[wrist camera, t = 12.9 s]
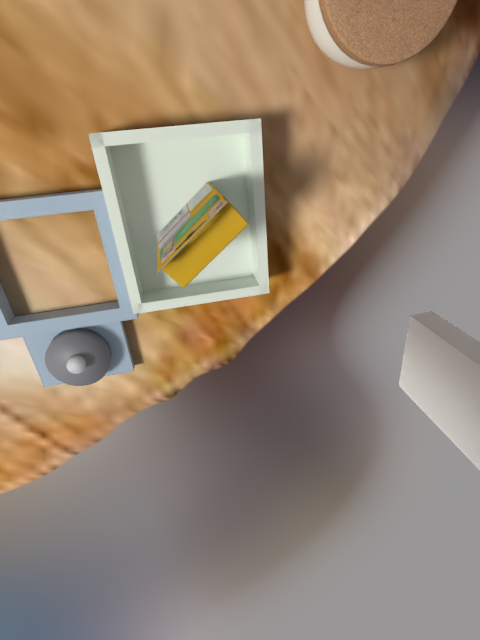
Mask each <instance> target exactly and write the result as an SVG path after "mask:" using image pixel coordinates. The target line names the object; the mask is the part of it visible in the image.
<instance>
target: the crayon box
mask: <svg viewBox="0 0 480 640" xmlns="http://www.w3.org/2000/svg"><path fill="white" fill-rule="evenodd" d="M247 225H248V222H247V221H246V220H245V219H244V218H243V216H242V215H241V214H240V213H239V212H238V211H237V210H236V209H235V207H234V206H233V205H232V204H231V203H230V202H229V201H228V200H227V199H226V198H225V197H224V196H223V195H222V194H221V193H220V192H219V191H218V190H217V189H216V188H215V187H214V186H213V185H212V184H211V183H209V182H207V183H206V184H205V185H204V186H203V187H202V188H201V189H200V190H199V191H198V192H197V193H196V194H195V195H194V196H193V197H192V199H191V200H190V201H189V202H188V203H187V204H186V205H185V206H184V207H183V208H182V209H181V210H180V211H179V212H178V213H177V214H176V215H175V216H174V217H173V218H172V219H171V220H170V221H169V222H168V223H167V224H166V225H165V226H164V227H163V229H162V230H161V231H160V232H159V233H158V234H157V261H158V262H157V263H158V265H157V274H158V273H159V272H160V271H161V270H163V271H164V272H165V273H166V274H167V275H169V276H170V277H171V278H172V279H173V280H174V281H176V282H177V283H178V284H179V285H180V286H181V287H182V288H184V287H186V286H187V285H188V284H189V283H190V282H191V281H192V280H193V279H194V278H195V277H196V276H197V275H198V274H199V273H200V272H201V271H202V270H203V269H204V268H205V267H206V266H207V265H208V264H209V263H210V262H211V261H212V260H213V259H214V258H215V257H216V256H217V255H219V253H220V252H221V251H222V250H224V249H225V248H226V247H227V246H228V245H229V244H230V243H231V242H232V241H233V240H234V239H235V238H236V237H237V235H238V234H239V233H241V231H242V230H244V228H245V227H246V226H247Z"/></svg>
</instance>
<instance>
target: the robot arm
mask: <svg viewBox="0 0 480 640" xmlns="http://www.w3.org/2000/svg"><path fill="white" fill-rule="evenodd" d="M399 386H400V387H401V388H402V389H403V391H404V392H405V393H406V394H407V395H408V396H409V397H410V398H411V399H412V400H413V401H414V402H415V403H416V404H417V405H418V406H419V407H420V408H421V409H422V410H423V411H424V412H425V414H426V415H427V416H428V417H429V418H430V419H431V420H432V421H433V422H434V423H435V424H436V425H437V426H438V427H439V428H440V429H441V430H442V431H443V432H444V433H445V434H446V435H447V436H448V438H449V439H450V440H451V441H453V443H454V444H455V445H456V446H457V447H458V448H459V449H460V450H461V451H462V452H463V453H464V454H465V455H466V456H467V457H468V458H469V460H470V461H472V462H473V464H474V465H475V466H476V467H477V468H478V469H479V470H480V342H479V341H477V340H476V339H474V338H472V337H471V336H469V335H468V334H466V333H465V332H463V331H461V330H460V329H459V328H457V327H455V326H454V325H452V324H451V323H449V322H448V321H446V320H444V319H443V318H441V317H440V316H438V315H437V314H435V313H434V312H426V313H421V314H416V315H410V318H409V325H408V330H407V337H406V343H405V349H404V356H403V362H402V369H401V375H400V382H399Z"/></svg>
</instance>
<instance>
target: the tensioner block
mask: <svg viewBox="0 0 480 640" xmlns="http://www.w3.org/2000/svg"><path fill="white" fill-rule="evenodd" d="M86 210H94V212H95V216H96V220H97V223H98V227H99V231H100V235H101V238H102V242H103V246H104V250H105V253H106V257H107V261H108V265H109V268H110V272H111V276H112V280H113V283H114V287H115V291H116V295H117V298H118V301H115V302H109V303H102V304H95V305H89V306H82V307H75V308H69V309H62V310H55V311H48V312H42V313H35V314H28V315H22V316H14V313H13V311H12V309H11V306H10V304H9V301H8V299H7V297H6V294H5V292H4V290H3V287H2V285H1V283H0V340H5V339H11V338H17V337H23V339H24V341H25V343H26V346H27V348H28V350H29V353H30V355H31V357H32V360H33V362H34V364H35V367H36V369H37V372H38V374H39V376H40V379H41V381H42V383H43V386H44V387H46V386H52V385H57V384H63V383H66V384H69V385H75V386H84V385H89V384H92V383H95V382H97V381H99V380H100V379H101V378H102V377H103V376H109V375H114V374H120V373H126V372H131V371H134V366H135V365H134V361H133V358H132V354H131V350H130V347H129V343H128V339H127V335H126V332H125V328H124V324H123V321H126V320H132V319H138V314H139V313H138V314H133V311H132V307H131V303H130V299H129V295H128V291H127V287H126V283H125V279H124V275H123V271H122V267H121V263H120V259H119V255H118V251H117V247H116V243H115V239H114V235H113V231H112V227H111V223H110V219H109V215H108V211H107V207H106V203H105V198H104V194H103V190H102V189H93V190H84V191H75V192H65V193H56V194H47V195H38V196H29V197H19V198H10V199H1V200H0V220H9V219H17V218H26V217H34V216H43V215H52V214H60V213H69V212H78V211H86Z"/></svg>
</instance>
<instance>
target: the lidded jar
mask: <svg viewBox="0 0 480 640" xmlns="http://www.w3.org/2000/svg"><path fill="white" fill-rule="evenodd" d="M456 2H457V0H304V8H305V15H306V21H307V24H308V27H309V31H310V33H311V35H312V37H313V40H314V41H315V43H316V44H317V46H318V48H319V49H320V50H321V51H322V52H323V53H324V54H325V55H326V56H327V57H328V58H329V59H330V60H332V61H333V62H335V63H337V64H339V65H341V66H345V67H349V68H353V69H371V68H377V67H382V66H389V65H394V64H397V63H399V62H402V61H405V60H407V59H409V58H411V57H413V56H415V55H416V54H418V53H419V52H420V51H422V50H423V49H424V48H425V47H427V46H428V45H429V43H430V42H431V41H432V40H433V39H434V38H435V37H436V36H437V35H438V33H439V32H440V31H441V29H442V28H443V27H444V25H445V23H446V22H447V20H448V18H449V17H450V15H451V13H452V11H453V9H454V6H455V4H456Z"/></svg>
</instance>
